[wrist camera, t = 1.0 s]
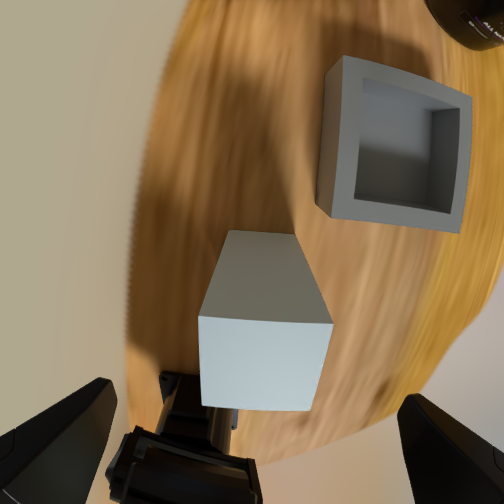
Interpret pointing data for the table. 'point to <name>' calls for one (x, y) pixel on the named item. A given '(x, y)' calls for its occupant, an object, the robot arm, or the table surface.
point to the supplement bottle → (471, 21)
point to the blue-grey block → (262, 326)
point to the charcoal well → (393, 147)
